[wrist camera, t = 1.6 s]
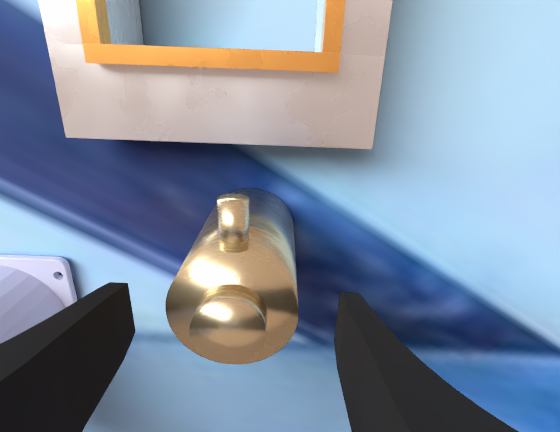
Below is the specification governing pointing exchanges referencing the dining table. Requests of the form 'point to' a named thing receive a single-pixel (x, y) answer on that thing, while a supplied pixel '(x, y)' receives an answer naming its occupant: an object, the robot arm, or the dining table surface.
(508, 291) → the dining table surface
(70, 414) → the robot arm
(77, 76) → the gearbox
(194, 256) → the spout can
